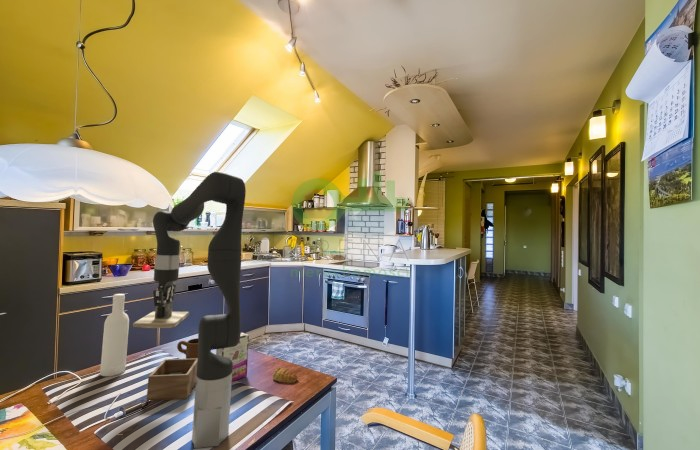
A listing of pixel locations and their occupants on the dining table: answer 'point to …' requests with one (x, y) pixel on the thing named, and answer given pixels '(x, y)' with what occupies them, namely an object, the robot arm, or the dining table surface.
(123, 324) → the bottle
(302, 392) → the dining table surface
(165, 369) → the box
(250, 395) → the dining table surface
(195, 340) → the mug
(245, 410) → the dining table surface
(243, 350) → the candy bar box
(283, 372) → the pastry
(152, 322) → the lid
